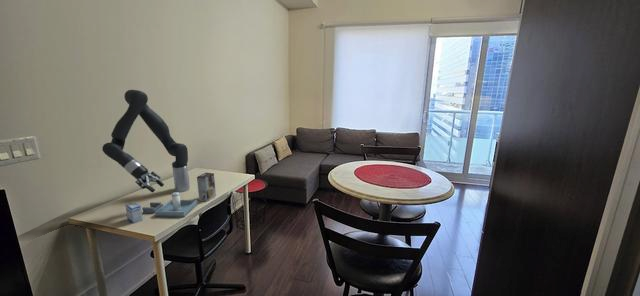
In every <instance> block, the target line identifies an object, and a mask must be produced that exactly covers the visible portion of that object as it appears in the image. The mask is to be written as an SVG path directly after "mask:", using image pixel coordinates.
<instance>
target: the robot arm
mask: <svg viewBox="0 0 640 296" xmlns="http://www.w3.org/2000/svg"><path fill="white" fill-rule="evenodd" d="M124 100H125V102H126V103H127V104H128V107H127V110H126V111H125V112H124V114H123V115H122V116H121V117H120V119H119V120H118V121H117V122H116V124H115V126H114V128H113V130H112V132H111V134H110V137H111V138H112V139H111V141H110V142H106V143H104V144H103V145H102V147H101V148H102V151H103V153H104V154H105V156H107V157H108V158H110V159H111V160H114V161H115V162H117V163H118V164H119V166H121V167H122V168H123V169H125V171H126V172H127V173H128V174H129V175H131V176H132V177H133V179H135V184H137V186H139V187H140V188H141V189H143V190H144V189H147V190H148V191H149V192H151V193H154V192H155V191H156V189H155V188H154V187H153V186H152V185H150V183H151V182H152V183H156V184H157V185H158V186H160V188H162V187H164V186H165V183H164V182H163V181H161V179H162V178H161V176H160V175H159V174H157V173H156V172H155V171H151V172H149V169H148V168H147V167H145V166H144V165H143V164H142V163H140V161H138V160H136V159H135V158H134V157H133V156H132V155H130V154H129V153H127V152H125V151H124V149H125V144H126V139H127V136H128V135H129V132H130V130H131V128H132V127H133V125H134V122H135V121H136V119H137V118H138V116H140V118H141V119H142V121H143V122H144V123H145V124H146V126H147V128H149V129H150V131H151V132H152V133H153V134H154V135H155V136H156V138H157V139H158V141H160V143H161V144H162V145H163V147H164V148H165V150H166V152H167V153H168V154H169V155H170V156H173V157H174V158H175V160H174V161H173V162H172V163H171V165H172V174H173V175H172V176H173V184H174V191H175V192H179V193H181V192H186V191H188V190H190V189H191V188H190V187H191V186H190V184H191V183H190V176H189V175H190V174H189V169H188V162H189V152H188V147H187V145H186V144H184V143H178V142H176V141H175V140H174V139H173V137H172V135H171V134H170V129H169V126H168V125H167V123H166V121H165V120H164V119H163V118H162V117H161V116H160V115H159V114H158V113H157V112H156V111H154V110H153V109H151V107H150V106H149V105H148V104H147V103H148V100H149V98H148V95H147V93H145V92H144V91H143V90H142V91H141V90H137V89H128V90H127V91H126V92H125V93H124Z"/></svg>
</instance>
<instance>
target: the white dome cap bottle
mask: <svg viewBox="0 0 640 296" xmlns="http://www.w3.org/2000/svg"><path fill="white" fill-rule="evenodd" d="M180 193H181V192H177V191H175V192H174V191H173V192H172V193H171V200H172V202H173V210H174V211H178V210H181V203H180V200H181V195H180Z"/></svg>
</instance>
